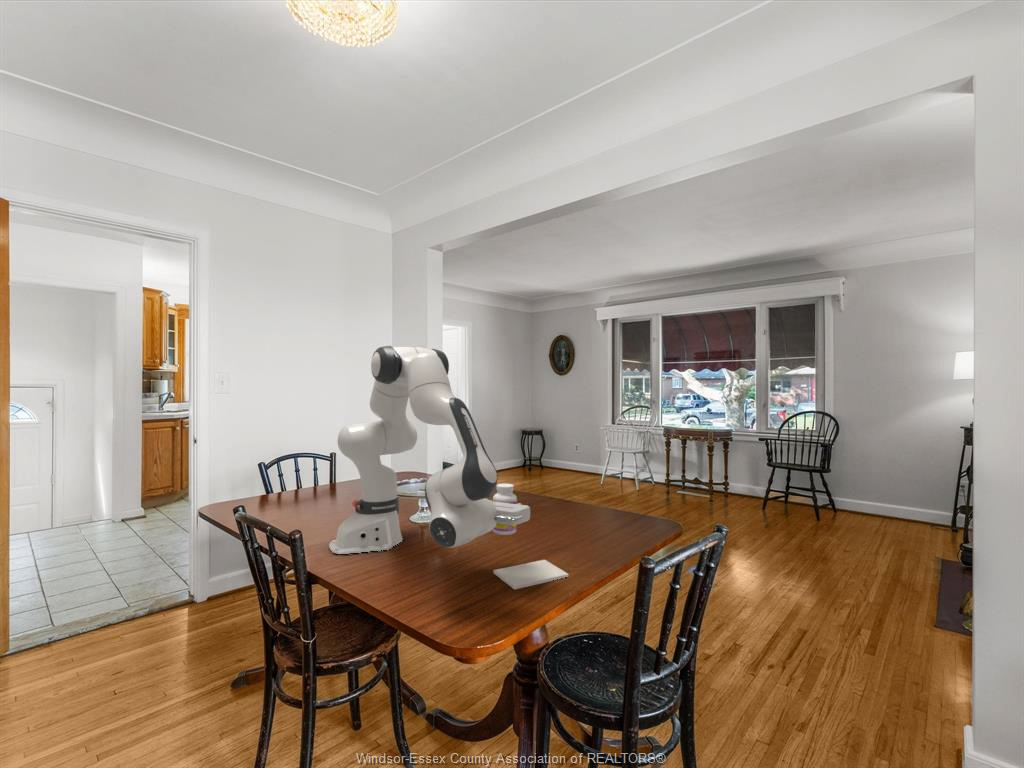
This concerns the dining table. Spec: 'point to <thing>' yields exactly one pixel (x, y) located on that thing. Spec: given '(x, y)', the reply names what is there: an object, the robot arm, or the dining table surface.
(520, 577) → the off-white mat
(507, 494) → the supplement bottle
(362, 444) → the robot arm
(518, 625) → the dining table surface
